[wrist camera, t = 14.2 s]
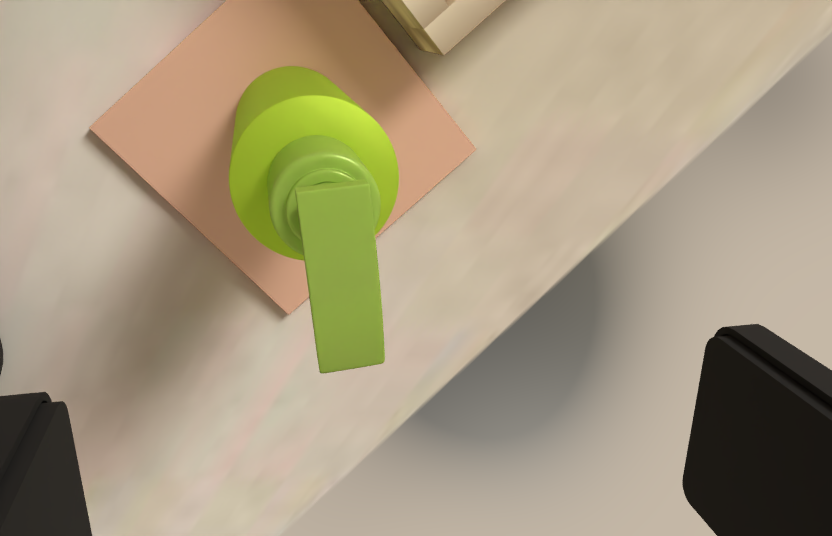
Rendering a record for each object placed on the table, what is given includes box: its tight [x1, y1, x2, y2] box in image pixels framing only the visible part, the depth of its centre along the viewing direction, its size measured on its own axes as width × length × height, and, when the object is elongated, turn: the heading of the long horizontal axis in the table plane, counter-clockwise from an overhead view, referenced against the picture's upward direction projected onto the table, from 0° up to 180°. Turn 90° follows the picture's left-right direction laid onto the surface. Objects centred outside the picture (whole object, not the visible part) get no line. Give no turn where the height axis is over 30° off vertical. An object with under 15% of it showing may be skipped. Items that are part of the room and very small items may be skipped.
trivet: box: [89, 0, 476, 315], centre depth 37 cm, size 14×14×1 cm
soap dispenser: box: [229, 66, 399, 373], centre depth 28 cm, size 6×7×20 cm
